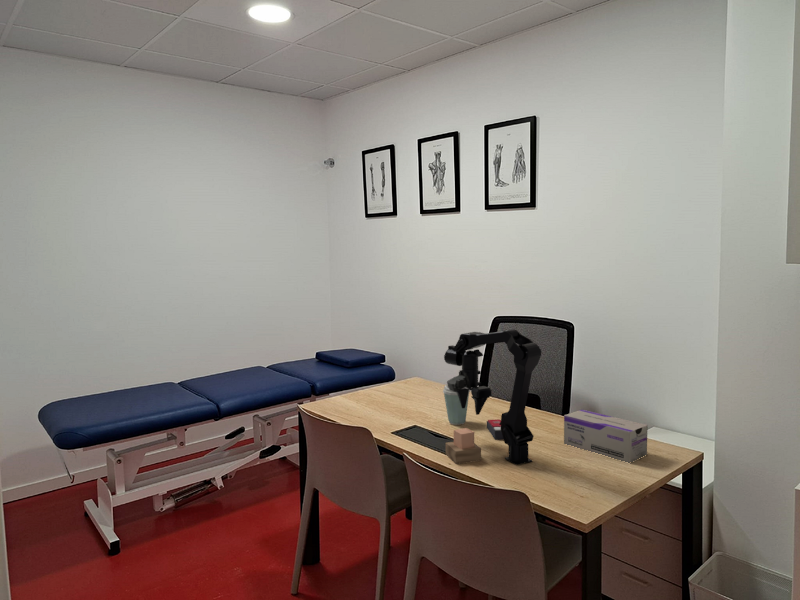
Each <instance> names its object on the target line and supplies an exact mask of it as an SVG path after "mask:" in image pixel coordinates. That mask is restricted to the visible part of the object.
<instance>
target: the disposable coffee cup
mask: <svg viewBox="0 0 800 600" xmlns="http://www.w3.org/2000/svg"><path fill="white" fill-rule="evenodd" d="M442 393H443V395H444V402H445V408H446V413H447V414H446V415H447V418H448V419H447V420H448V423H449V424H450V425H453V426H461V425H460V424H462V425H464V424H465V423H466V420H467V412H468V404H469V398H470V393H471V390H469V393H468V397H467V402H466V406H465V408H462V407H461V404H460V401H459V397H458V395H457V393H456V392H453V391H452V390H449V387H448V384H445V385H444V387H443V389H442Z"/></svg>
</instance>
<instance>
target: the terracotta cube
mask: <svg viewBox="0 0 800 600" xmlns="http://www.w3.org/2000/svg"><path fill="white" fill-rule="evenodd" d="M453 442H454V445H455V446H457V447H459V448H460V449H465V448H470V447H474V443H475V431H473V430H471V429H470V428H468V427H464V428H458V429H453Z"/></svg>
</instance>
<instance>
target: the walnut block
mask: <svg viewBox="0 0 800 600" xmlns="http://www.w3.org/2000/svg"><path fill="white" fill-rule="evenodd" d="M446 455H447V456H446ZM445 456H446V457H447V458H449V459H450V460H451V461H452V462H453V463H454V465H458V464H459V463H460V464H467V463H472V462H473V463H474V461H475V462H479V461H480V462H481V461H482V448H481V447H480V446H479V445H478V444H476V443H475V442H474V447H470V448H465V449H460V448H459V447H457V446H455V445H454V441H449V442H445ZM466 462H467V463H466Z"/></svg>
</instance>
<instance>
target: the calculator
mask: <svg viewBox="0 0 800 600" xmlns="http://www.w3.org/2000/svg"><path fill="white" fill-rule="evenodd" d="M500 422H501V418H500V419H487V420H486V429H487V430H488V432H489V433H490V434H491V436H492V438H493V440H495V441H501V440H503V441H504V439H503V435H502V432H501V425H499V424H500ZM517 437H520V436H517ZM517 437H516V438H517Z"/></svg>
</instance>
